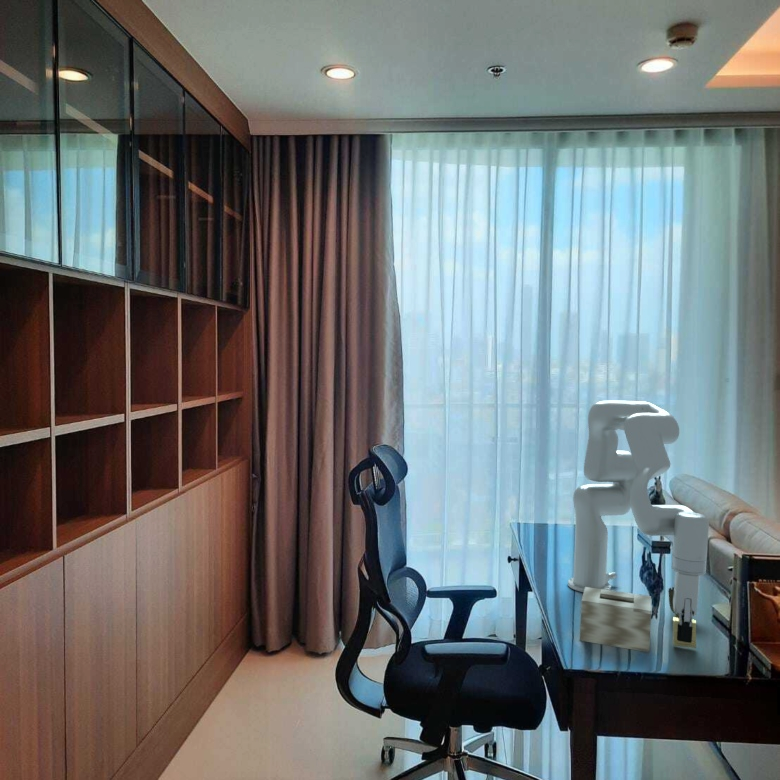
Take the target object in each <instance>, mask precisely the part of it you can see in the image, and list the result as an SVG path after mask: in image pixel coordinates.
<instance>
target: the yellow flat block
mask: <svg viewBox="0 0 780 780" xmlns="http://www.w3.org/2000/svg"><path fill="white" fill-rule="evenodd" d="M678 624H679V618H676V617H675V616H673V617H672V645H673V646H676V647H683V648H684V647H685V648H691V649H692V648H693V649H696V648H697V621H696V619H693V618H692V626H693V628H692V642H691V643H688V642H682V641H678V640H677V630H678Z"/></svg>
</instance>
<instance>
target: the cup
mask: <svg viewBox="0 0 780 780" xmlns="http://www.w3.org/2000/svg"><path fill="white" fill-rule="evenodd" d="M673 595H674V586H672V588H671V587H669V588H668V603H669V609H670V610H671V612H672V613H673V614H674V617H676V618H678V616H679V613H677V614H676V613H675V612H674V609H673Z"/></svg>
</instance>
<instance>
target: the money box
mask: <svg viewBox="0 0 780 780" xmlns="http://www.w3.org/2000/svg"><path fill="white" fill-rule="evenodd" d="M582 593H583V594H582V597H581V605H580V606H581V607H580V623H579V624H580V627H579V641H581V642H587V643H594V644H598V645H605V646H610V647H615V648H621V649H628V650H634V651H641V652H645V653H650V646H651V645H650V644H651V628H652V626H651V625H652V624H651V623H652V596H651V595H645V594H638V593H631V592H625V591H617V590H612V589H611V590H604V589H597V588H590V587H585V590H584V592H582Z"/></svg>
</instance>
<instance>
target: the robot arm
mask: <svg viewBox="0 0 780 780" xmlns="http://www.w3.org/2000/svg"><path fill="white" fill-rule="evenodd" d="M587 426H588V439H587V446H586V451H585V457H584V463H583V464H584V465H583V473H584V476H585V478H586V480H588V481H589V482H594V483H588V484H587V483H586V484H582V485H580V486H578V487H577V488H576V489H575V490H574V492H573V497H572V501H573V507H574V508H573V509H574V514H575V515H574V516H575V519H574V521H575V526H574V527H575V530H574V531H575V532H574V554H573V555H574V556H573V574H572V575H573V577H571V578H569V579H568V580H567V586H568V587H569V588H571V589H572V590H574V591H576V592H581V593H584V590H585V587H590V588H597V589H604V590H611V591H612V586H611V584H610V583H609V581H610V580H616V578H618V576H617V573H616V572H615V571H614V572H609V573H608V572H607V565H608V564H607V562H608V543H609V542H608V540H609V531H608V527H607V525H606V524H605V522H604V521H603V519H602V517H605V516H609V517H610V516H624V515H626V514H627V513H629V512H630V510H631V512H632V515H633V518H634V521H635V523H636V526H637V528H638V530H640V531H639V532H641V533H643V534H644V535H646V536H649V537H659V536H660V537H662V536H673V537H672V538H673V540H672V553H671V554H672V555H671V569H672V570H673V571H674V572H675V573H674V583H673V587H674V595H673V609H674V612H675V613H676V614H677V613H679V616H678V618H679V624H678V630H677V640H678V641H682V642H688V643H691V642H692V628H693V626H692V619H693V617H695V616H697V611H698V605H699V604H698V603H699V594H700V584H701V583H700V582H701V581H700V579H701V576H703V575H704V576H705V574H707V573H706V572H707V560H708V559H707V557H708V541H709V529H710V528H709V527H710V523H709V522H710V521H709V518H708V517H707V516H706V515H705V514H703V513H698V512H695V511H693V510H692V509H691V508H690V507H688V506H686V505H683V504H652V502H651V499H650V496H649V492H648V487H649V486H648V485H649V482H650V480H653V479H655V478H657V477H659V476H661V475H663V474H665V473H666V472H667V471H668V470H669V469H670V468H671V461H670V458H669V456H668V453H667V450H666V447H665V445H672V444H674V443H675V442H676V441H677V440H678V439H679V436H680V427H679V423H678V421H677V420H676V418H675V417H674V416H673V415H672V414H671V413H670V412H668V411H666V410H665V409H662V408H660V407H658V406H656V405H655V404H653V403H651V402H647V401H639V400H638V401H637V400H602V401H601V400H600V401H597V402H595V403H594V404H593V405H592V406H590V409H589V411H588V415H587ZM617 431H623V432H624V434H625V438H626V441H627V445H628V448H629V451H628V450H618V445H619V437H618V433H617ZM675 613H674V614H675Z"/></svg>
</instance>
